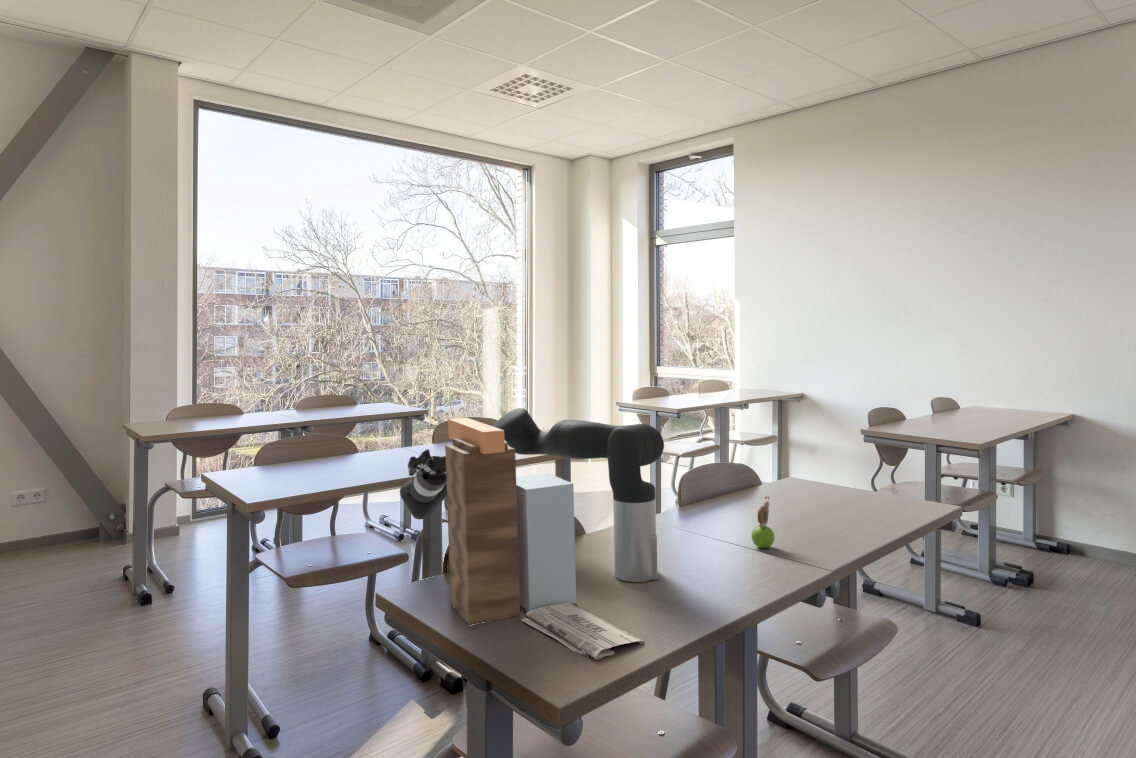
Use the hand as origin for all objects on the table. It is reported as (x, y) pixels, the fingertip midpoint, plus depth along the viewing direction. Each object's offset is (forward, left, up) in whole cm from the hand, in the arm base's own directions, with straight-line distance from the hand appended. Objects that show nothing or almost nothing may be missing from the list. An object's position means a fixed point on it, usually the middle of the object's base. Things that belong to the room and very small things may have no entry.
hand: (447, 451), depth 152 cm
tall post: (-11, +19, -28) cm, 36 cm away
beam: (-9, +16, +4) cm, 19 cm away
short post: (-21, +13, -28) cm, 38 cm away
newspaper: (-30, +29, -29) cm, 51 cm away
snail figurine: (-73, -20, -28) cm, 81 cm away
